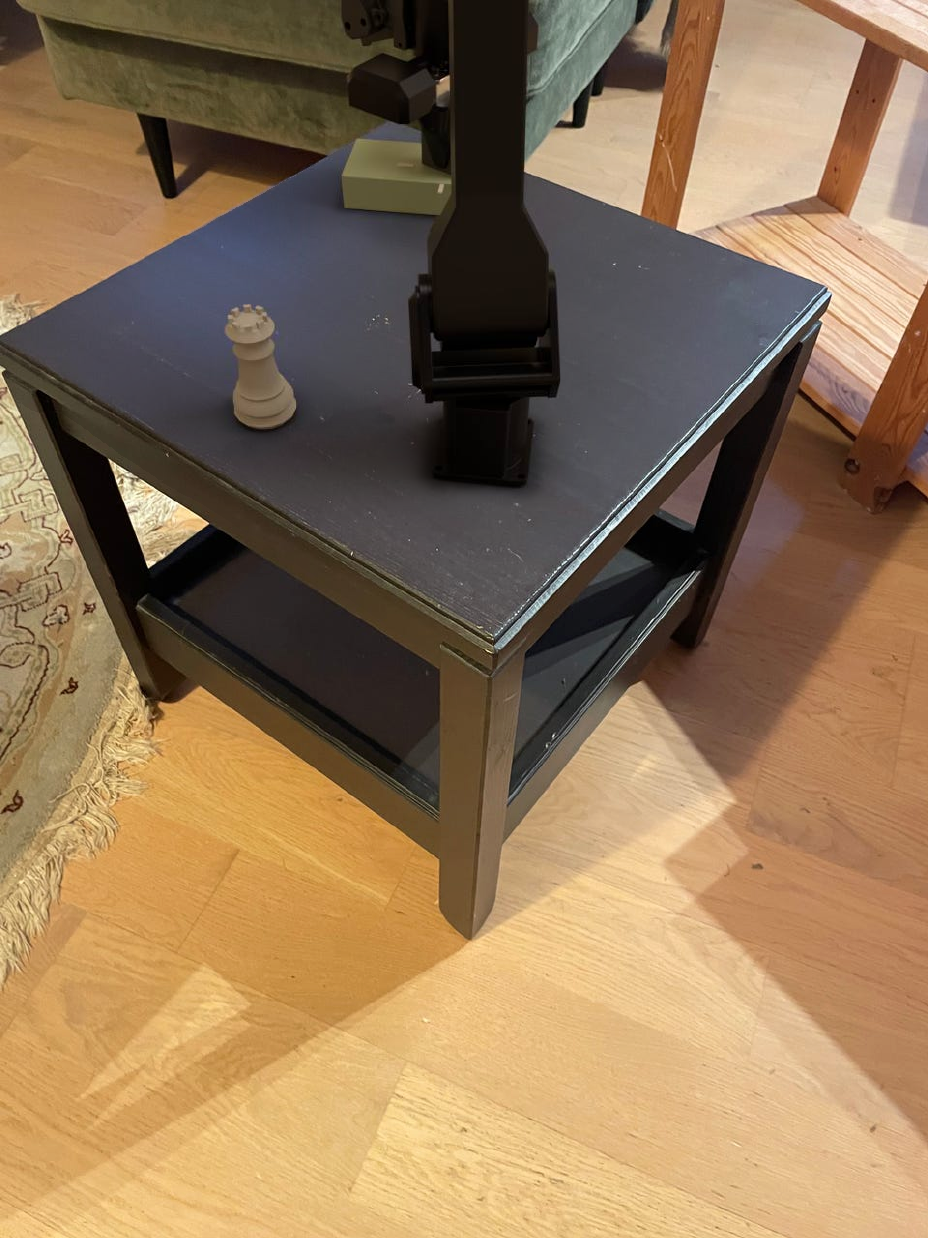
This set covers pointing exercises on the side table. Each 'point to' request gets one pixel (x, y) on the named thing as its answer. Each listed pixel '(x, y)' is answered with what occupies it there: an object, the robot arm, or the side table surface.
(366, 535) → the side table surface
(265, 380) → the rook chess piece
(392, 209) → the olive green box
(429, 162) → the dark square block
